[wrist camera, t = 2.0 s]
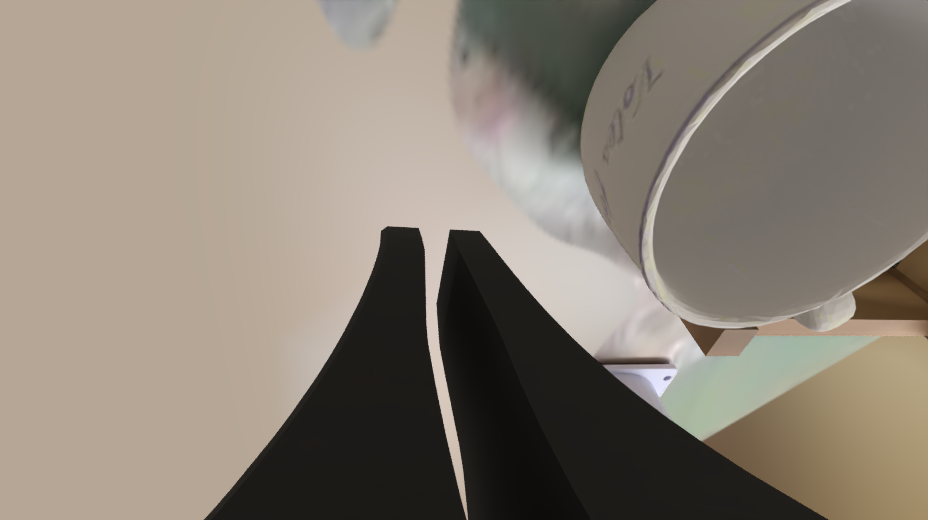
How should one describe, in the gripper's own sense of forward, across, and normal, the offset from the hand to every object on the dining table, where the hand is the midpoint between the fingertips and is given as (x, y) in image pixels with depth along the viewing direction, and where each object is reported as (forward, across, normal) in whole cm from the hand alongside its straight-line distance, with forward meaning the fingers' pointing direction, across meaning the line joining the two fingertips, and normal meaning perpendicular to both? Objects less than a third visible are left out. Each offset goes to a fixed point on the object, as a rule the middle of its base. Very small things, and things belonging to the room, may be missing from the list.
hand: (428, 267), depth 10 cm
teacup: (+10, -12, 0) cm, 16 cm away
